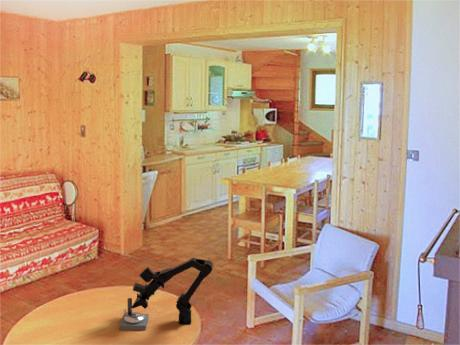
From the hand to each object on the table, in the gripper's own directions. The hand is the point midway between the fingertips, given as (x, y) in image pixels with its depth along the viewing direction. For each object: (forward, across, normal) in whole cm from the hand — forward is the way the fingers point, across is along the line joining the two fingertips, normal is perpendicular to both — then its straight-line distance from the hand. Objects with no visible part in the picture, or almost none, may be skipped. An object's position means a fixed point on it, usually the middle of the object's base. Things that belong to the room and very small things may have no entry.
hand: (132, 307), depth 278 cm
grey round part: (+3, +3, +4) cm, 6 cm away
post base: (+5, +4, +6) cm, 9 cm away
